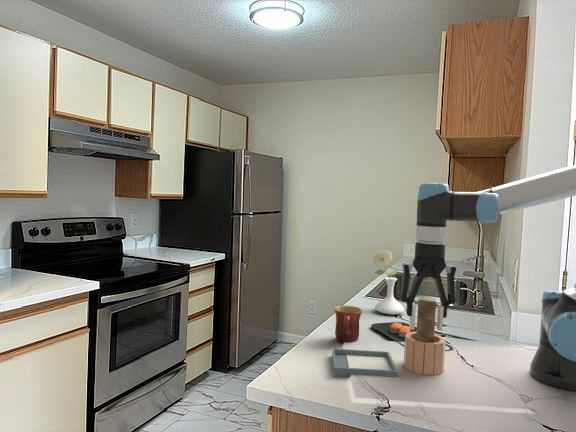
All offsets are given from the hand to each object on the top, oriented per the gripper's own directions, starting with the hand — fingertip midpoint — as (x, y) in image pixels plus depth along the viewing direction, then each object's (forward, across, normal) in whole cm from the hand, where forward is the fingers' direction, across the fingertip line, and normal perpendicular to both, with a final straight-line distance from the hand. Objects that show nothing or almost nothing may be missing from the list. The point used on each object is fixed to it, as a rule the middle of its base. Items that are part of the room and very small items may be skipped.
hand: (425, 328), depth 117 cm
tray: (+11, +16, 0) cm, 20 cm away
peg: (+10, 0, 0) cm, 10 cm away
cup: (+11, 0, 0) cm, 11 cm away
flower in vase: (+12, 0, -58) cm, 59 cm away
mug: (+12, +19, -19) cm, 29 cm away
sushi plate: (+12, -9, -29) cm, 33 cm away
